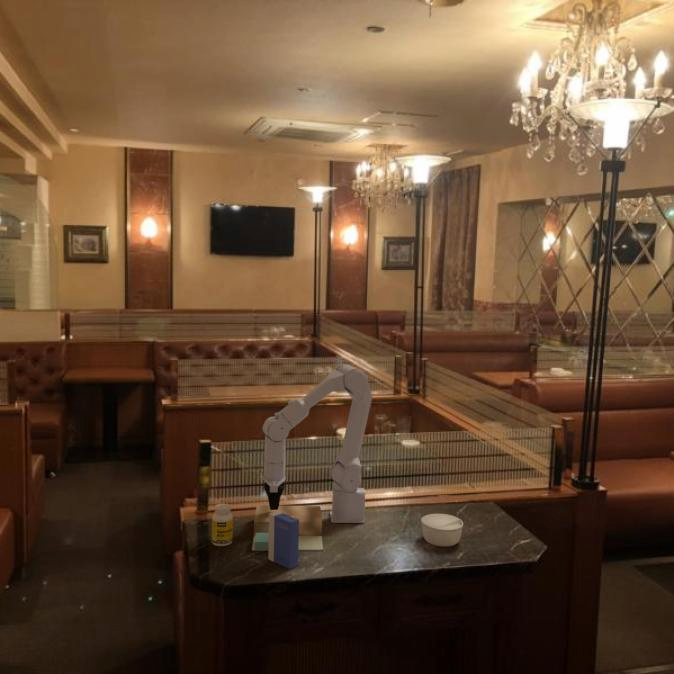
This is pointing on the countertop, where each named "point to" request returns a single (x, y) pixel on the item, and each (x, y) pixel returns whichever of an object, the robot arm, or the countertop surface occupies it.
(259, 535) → the sage green box
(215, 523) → the supplement bottle
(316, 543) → the mat
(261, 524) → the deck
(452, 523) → the ramekin
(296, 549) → the walkman
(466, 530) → the countertop surface
